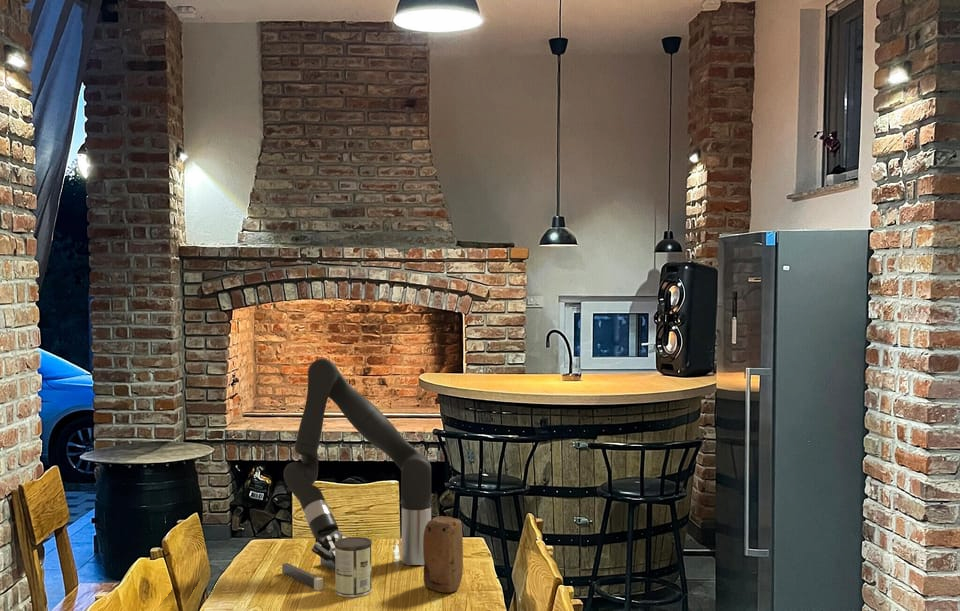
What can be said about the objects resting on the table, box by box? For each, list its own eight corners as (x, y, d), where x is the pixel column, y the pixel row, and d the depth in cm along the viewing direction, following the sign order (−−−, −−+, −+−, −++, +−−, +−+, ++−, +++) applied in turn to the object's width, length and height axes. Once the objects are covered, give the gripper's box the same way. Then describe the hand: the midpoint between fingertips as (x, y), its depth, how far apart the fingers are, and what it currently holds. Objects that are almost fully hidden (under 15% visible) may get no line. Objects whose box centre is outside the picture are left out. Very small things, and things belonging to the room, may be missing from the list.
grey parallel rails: (325, 564, 271) (325, 554, 271) (361, 579, 256) (361, 569, 256) (282, 573, 261) (282, 563, 261) (317, 590, 246) (317, 579, 246)
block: (465, 588, 248) (465, 518, 248) (450, 596, 242) (450, 524, 242) (434, 581, 254) (434, 513, 254) (418, 589, 248) (419, 518, 248)
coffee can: (345, 584, 252) (345, 535, 252) (377, 587, 249) (377, 538, 249) (328, 595, 242) (328, 544, 242) (361, 599, 239) (361, 548, 239)
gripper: (305, 515, 253) (328, 567, 244) (344, 508, 261) (367, 558, 252) (296, 530, 257) (318, 582, 248) (334, 522, 265) (357, 572, 256)
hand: (343, 570), depth 250 cm, fingers closed
